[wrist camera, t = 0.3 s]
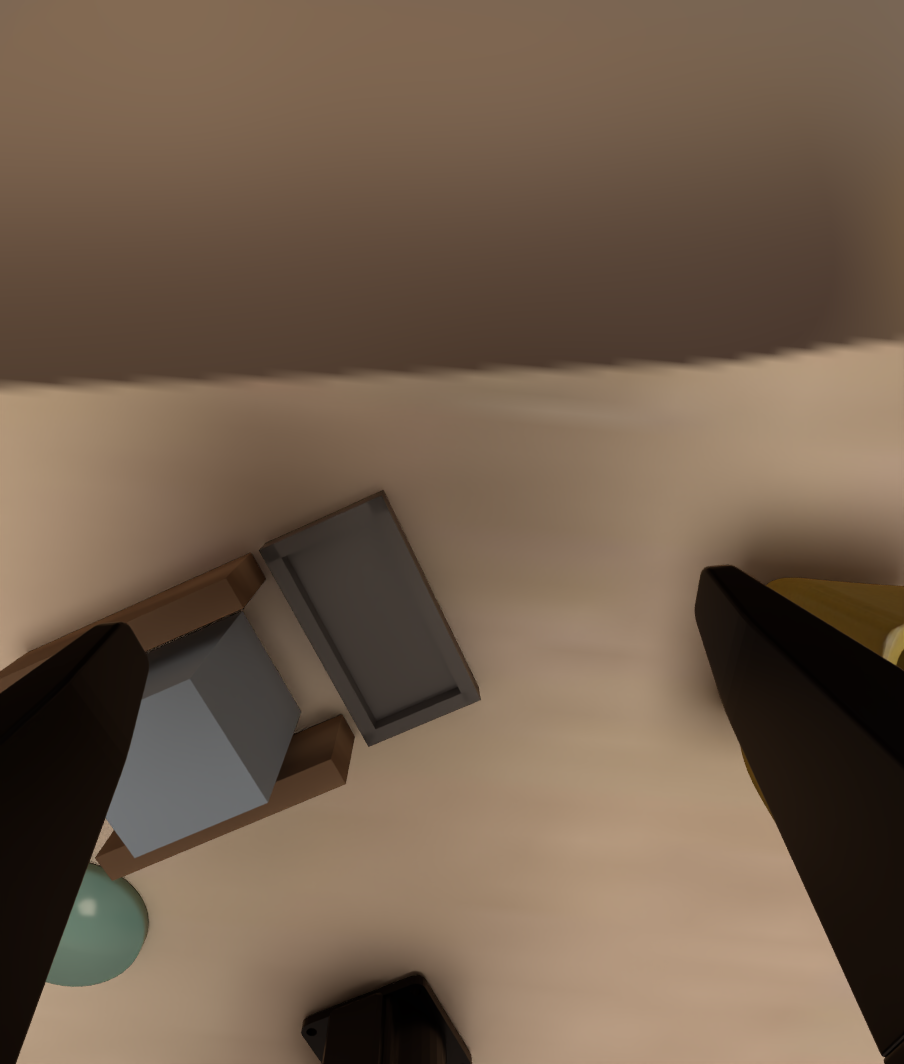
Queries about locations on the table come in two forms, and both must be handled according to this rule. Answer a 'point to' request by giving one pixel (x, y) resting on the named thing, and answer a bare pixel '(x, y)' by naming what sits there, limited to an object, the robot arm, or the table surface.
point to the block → (203, 737)
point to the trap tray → (372, 618)
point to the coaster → (100, 932)
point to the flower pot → (850, 616)
